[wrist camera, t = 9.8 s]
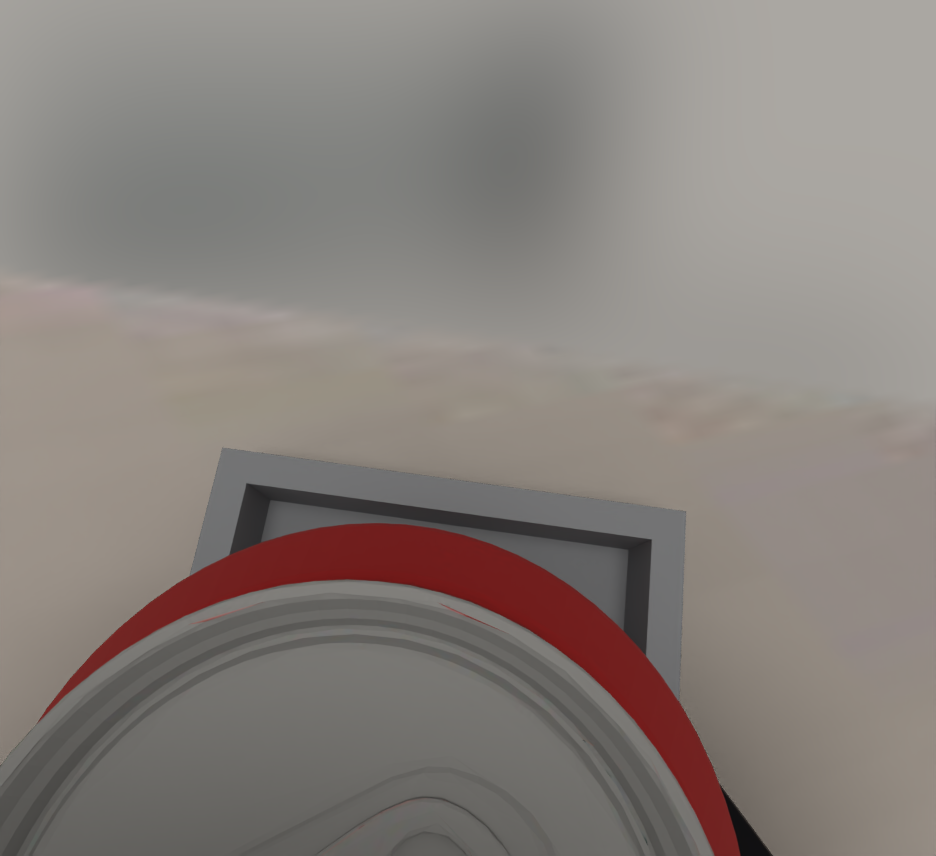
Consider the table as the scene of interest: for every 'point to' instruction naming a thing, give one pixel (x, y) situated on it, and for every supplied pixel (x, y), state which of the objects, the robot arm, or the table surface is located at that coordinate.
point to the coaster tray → (471, 532)
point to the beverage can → (365, 717)
